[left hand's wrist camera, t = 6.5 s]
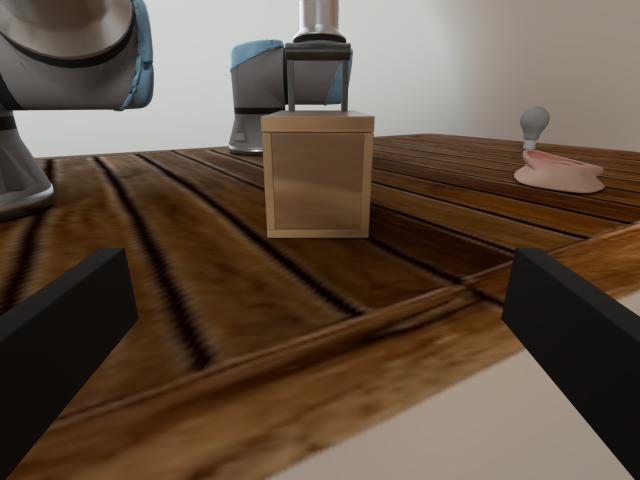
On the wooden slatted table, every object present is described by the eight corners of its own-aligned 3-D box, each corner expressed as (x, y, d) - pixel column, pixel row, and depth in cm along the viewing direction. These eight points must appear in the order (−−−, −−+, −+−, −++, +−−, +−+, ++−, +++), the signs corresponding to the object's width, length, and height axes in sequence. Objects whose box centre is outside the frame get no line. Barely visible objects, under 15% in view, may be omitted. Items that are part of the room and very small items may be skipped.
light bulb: (518, 151, 87) (527, 106, 84) (512, 148, 93) (519, 106, 89) (546, 152, 86) (556, 106, 83) (537, 148, 92) (546, 106, 88)
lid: (281, 120, 46) (279, 46, 43) (354, 120, 46) (356, 46, 44) (261, 132, 30) (255, 13, 27) (373, 132, 30) (379, 13, 27)
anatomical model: (620, 165, 45) (516, 158, 50) (611, 196, 47) (511, 186, 52) (603, 152, 56) (519, 147, 61) (596, 178, 58) (514, 171, 63)
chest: (284, 193, 49) (281, 121, 46) (352, 192, 49) (354, 121, 46) (267, 238, 33) (261, 132, 30) (368, 238, 33) (373, 132, 30)
